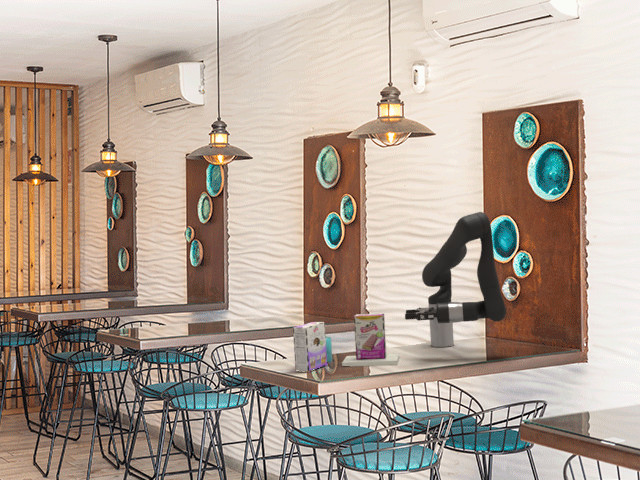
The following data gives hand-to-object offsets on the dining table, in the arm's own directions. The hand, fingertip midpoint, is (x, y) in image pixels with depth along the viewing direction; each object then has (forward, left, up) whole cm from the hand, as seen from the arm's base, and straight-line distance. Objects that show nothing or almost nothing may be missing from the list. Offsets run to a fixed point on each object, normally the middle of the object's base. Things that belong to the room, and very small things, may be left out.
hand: (405, 314), depth 303 cm
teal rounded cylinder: (-6, -33, -17) cm, 38 cm away
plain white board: (0, -14, -17) cm, 22 cm away
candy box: (+9, -35, -17) cm, 40 cm away
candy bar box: (0, -14, -16) cm, 21 cm away
